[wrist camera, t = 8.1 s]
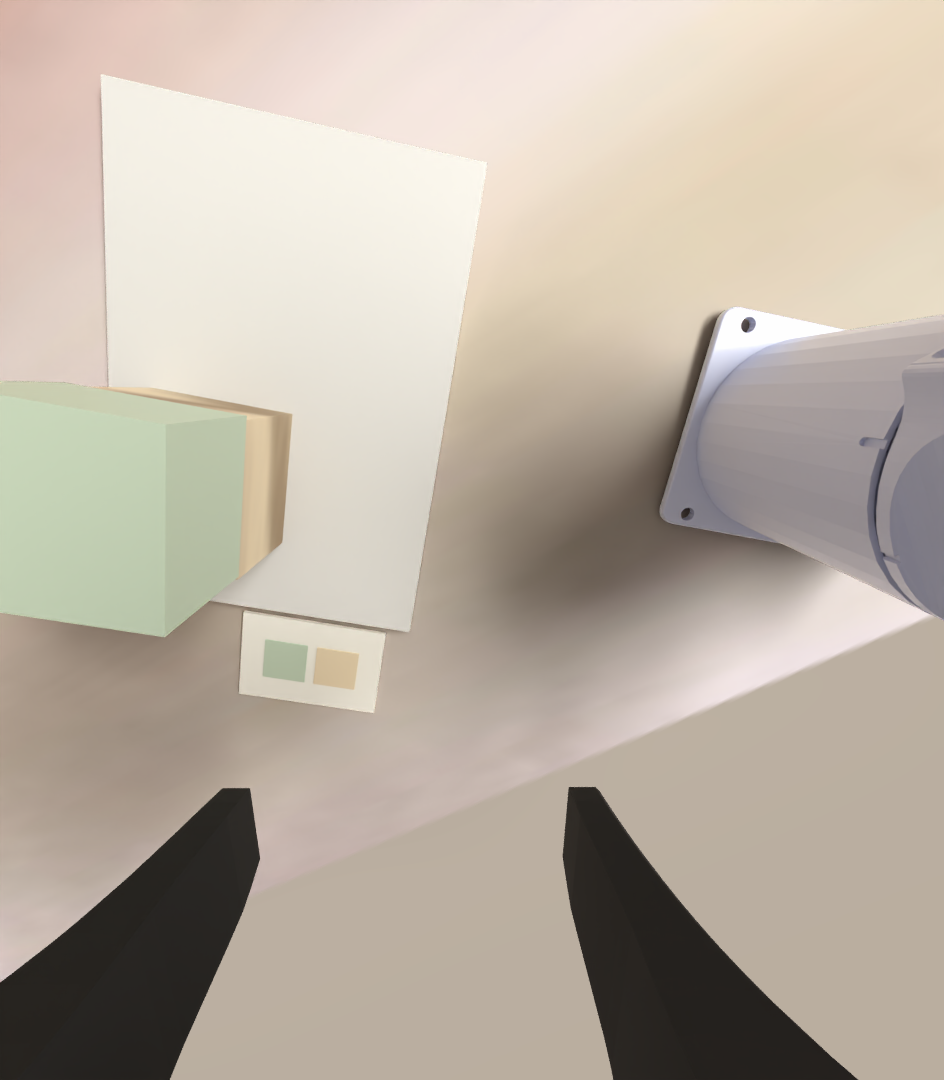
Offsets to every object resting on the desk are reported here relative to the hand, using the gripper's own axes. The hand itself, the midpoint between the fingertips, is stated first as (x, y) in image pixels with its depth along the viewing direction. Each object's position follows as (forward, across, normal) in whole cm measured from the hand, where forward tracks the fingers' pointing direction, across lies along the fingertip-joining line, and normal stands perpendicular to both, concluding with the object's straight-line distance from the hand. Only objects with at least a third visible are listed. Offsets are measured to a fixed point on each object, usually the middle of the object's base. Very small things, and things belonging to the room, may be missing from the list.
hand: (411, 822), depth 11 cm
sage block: (+6, +8, -7) cm, 12 cm away
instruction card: (+10, +5, +2) cm, 12 cm away
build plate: (+10, +6, -9) cm, 15 cm away
